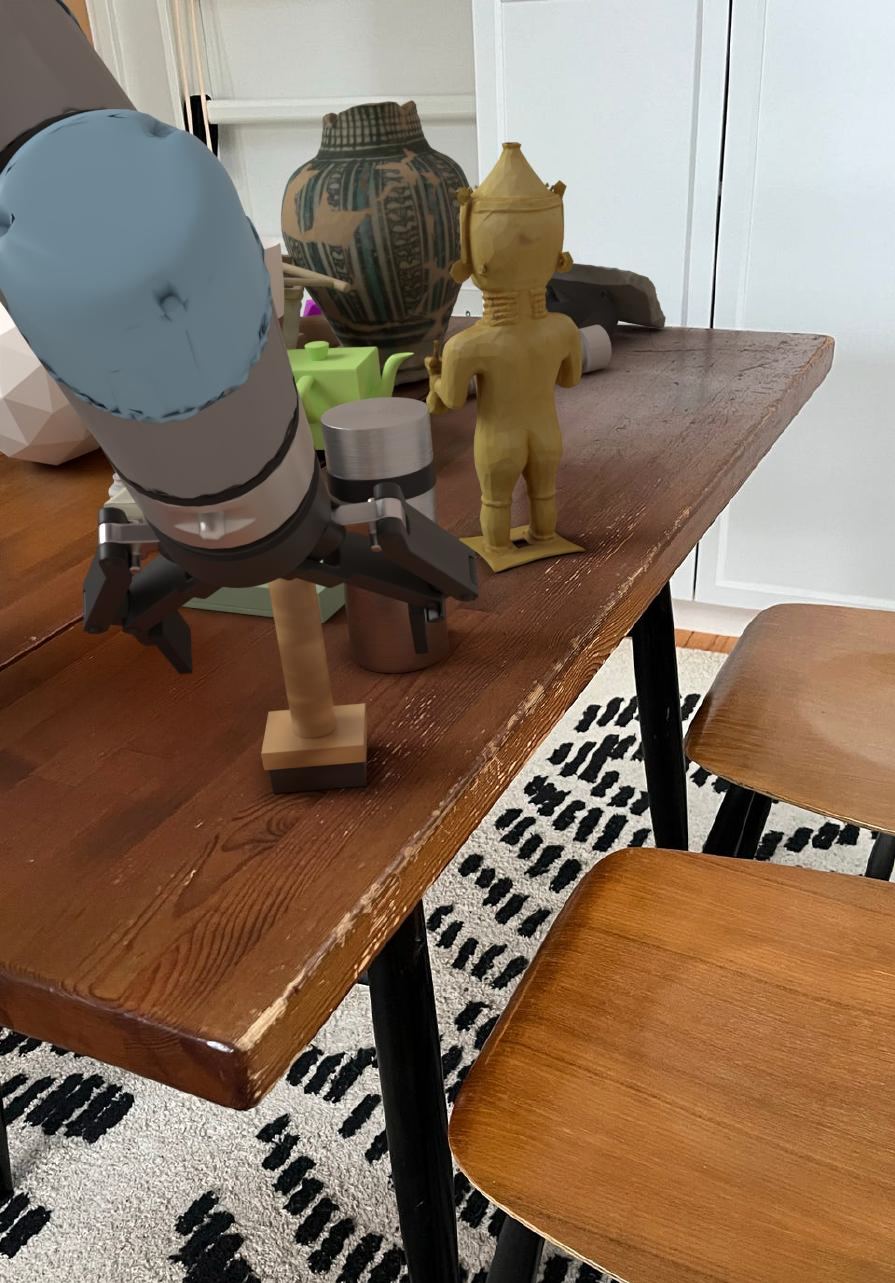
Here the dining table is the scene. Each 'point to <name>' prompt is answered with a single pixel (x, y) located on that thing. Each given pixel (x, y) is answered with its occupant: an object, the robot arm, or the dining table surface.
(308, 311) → the crystal
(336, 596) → the tray
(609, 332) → the gaming controller
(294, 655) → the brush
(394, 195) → the vase
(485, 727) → the dining table surface
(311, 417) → the teapot
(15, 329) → the ball
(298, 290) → the swing bench
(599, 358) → the screw
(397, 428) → the bottle
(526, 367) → the figurine
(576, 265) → the stone
